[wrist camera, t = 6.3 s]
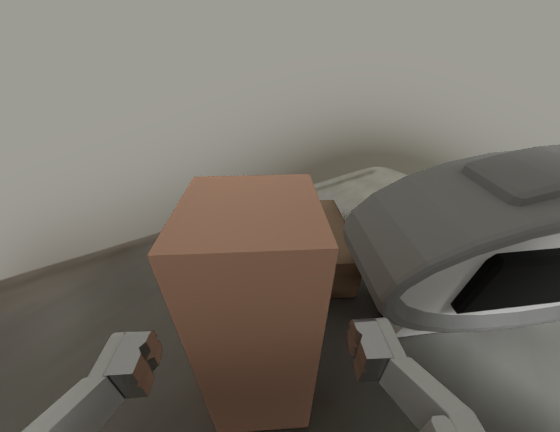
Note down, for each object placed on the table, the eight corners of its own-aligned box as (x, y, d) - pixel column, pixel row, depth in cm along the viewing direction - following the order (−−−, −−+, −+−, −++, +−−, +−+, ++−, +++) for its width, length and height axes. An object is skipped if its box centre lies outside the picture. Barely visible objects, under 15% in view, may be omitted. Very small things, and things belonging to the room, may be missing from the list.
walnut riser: (329, 229, 29) (333, 200, 27) (356, 297, 21) (365, 262, 19) (246, 231, 29) (244, 202, 27) (239, 302, 20) (234, 268, 18)
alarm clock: (355, 356, 17) (431, 204, 9) (329, 282, 21) (363, 140, 14) (635, 319, 19) (889, 176, 11) (556, 260, 24) (695, 131, 16)
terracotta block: (297, 340, 18) (309, 174, 11) (308, 427, 14) (338, 248, 6) (228, 343, 17) (194, 176, 10) (217, 433, 13) (146, 255, 6)
